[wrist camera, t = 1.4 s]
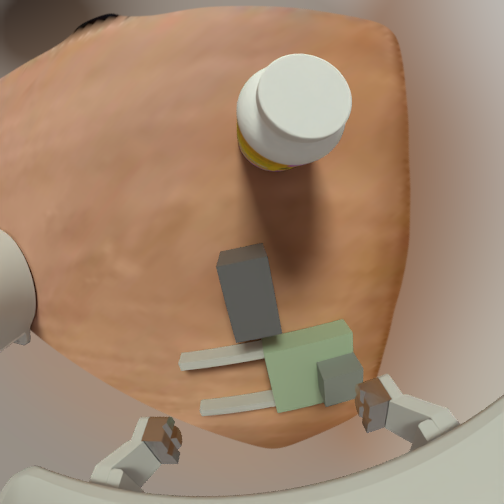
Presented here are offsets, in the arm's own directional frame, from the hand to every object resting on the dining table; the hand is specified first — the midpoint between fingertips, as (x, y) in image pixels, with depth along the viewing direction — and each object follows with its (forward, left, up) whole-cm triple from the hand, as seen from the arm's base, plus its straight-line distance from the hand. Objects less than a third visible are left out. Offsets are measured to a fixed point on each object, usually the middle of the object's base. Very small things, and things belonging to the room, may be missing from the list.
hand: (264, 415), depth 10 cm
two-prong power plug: (0, -11, -17) cm, 20 cm away
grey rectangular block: (0, 0, -17) cm, 17 cm away
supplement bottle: (+5, +13, -17) cm, 22 cm away
